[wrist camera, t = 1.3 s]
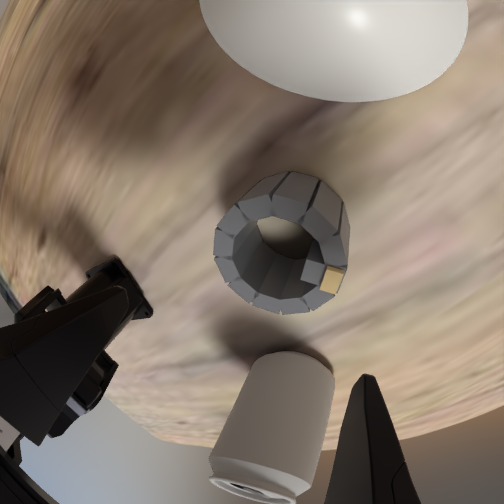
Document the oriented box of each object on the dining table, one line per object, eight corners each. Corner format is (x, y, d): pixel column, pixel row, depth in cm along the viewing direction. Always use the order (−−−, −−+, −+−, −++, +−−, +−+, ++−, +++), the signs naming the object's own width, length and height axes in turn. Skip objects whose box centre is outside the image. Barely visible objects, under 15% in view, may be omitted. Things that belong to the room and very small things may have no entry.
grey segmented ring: (237, 255, 19) (208, 294, 15) (249, 161, 15) (216, 182, 12) (330, 284, 18) (321, 331, 14) (362, 191, 14) (365, 223, 11)
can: (240, 366, 25) (185, 475, 16) (285, 330, 21) (226, 477, 11) (301, 402, 26) (265, 507, 16) (354, 374, 21) (327, 509, 12)
